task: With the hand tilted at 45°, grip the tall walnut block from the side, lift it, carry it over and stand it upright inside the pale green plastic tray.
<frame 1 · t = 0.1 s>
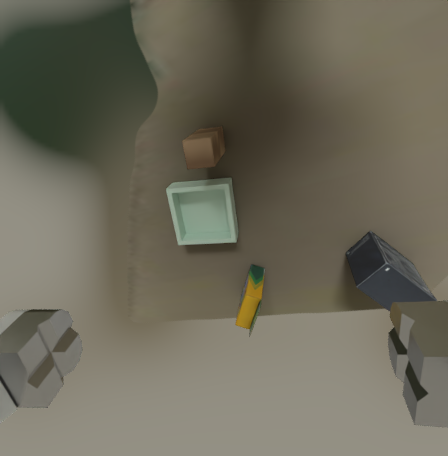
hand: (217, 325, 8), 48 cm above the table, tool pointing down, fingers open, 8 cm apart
walnut block: (212, 140, 54), on the table
small box: (377, 258, 59), on the table
crayon box: (253, 279, 65), on the table
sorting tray: (206, 208, 60), on the table
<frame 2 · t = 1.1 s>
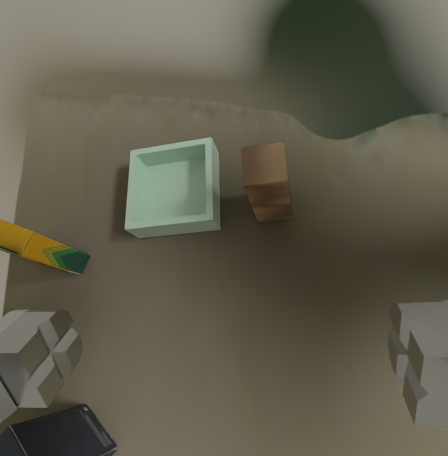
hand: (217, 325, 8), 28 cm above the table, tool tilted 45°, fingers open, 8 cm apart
walnut block: (273, 205, 39), on the table
crayon box: (66, 257, 44), on the table
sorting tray: (179, 194, 42), on the table
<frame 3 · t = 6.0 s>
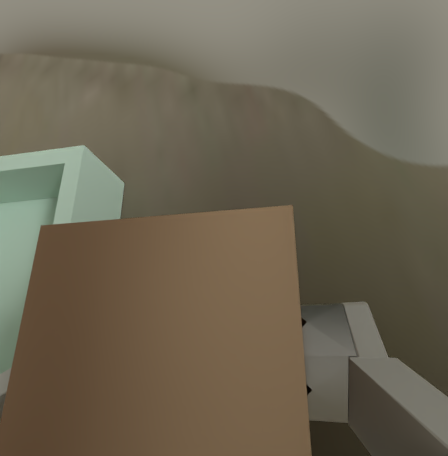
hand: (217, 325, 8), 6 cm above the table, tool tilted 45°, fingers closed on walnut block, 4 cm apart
walnut block: (250, 350, 13), on the table, touching gripper
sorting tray: (17, 286, 17), on the table
when the fingers open (8 cm above the table, at t = 11.1 s): walnut block drops 1 cm, resting on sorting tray.
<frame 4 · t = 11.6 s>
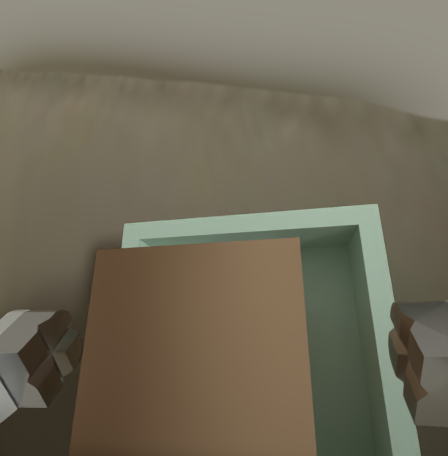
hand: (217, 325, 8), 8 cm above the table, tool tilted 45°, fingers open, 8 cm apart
walnut block: (256, 349, 15), point 1 cm above the table, touching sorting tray
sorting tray: (255, 349, 15), on the table
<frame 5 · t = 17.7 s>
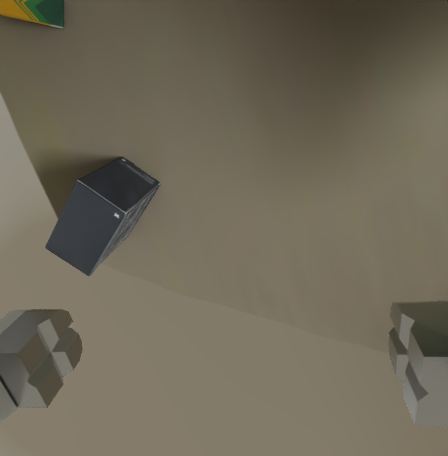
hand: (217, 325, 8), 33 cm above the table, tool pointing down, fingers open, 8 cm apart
small box: (124, 197, 45), on the table
crayon box: (34, 6, 36), on the table
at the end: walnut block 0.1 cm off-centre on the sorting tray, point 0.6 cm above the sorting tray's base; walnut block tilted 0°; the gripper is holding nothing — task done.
